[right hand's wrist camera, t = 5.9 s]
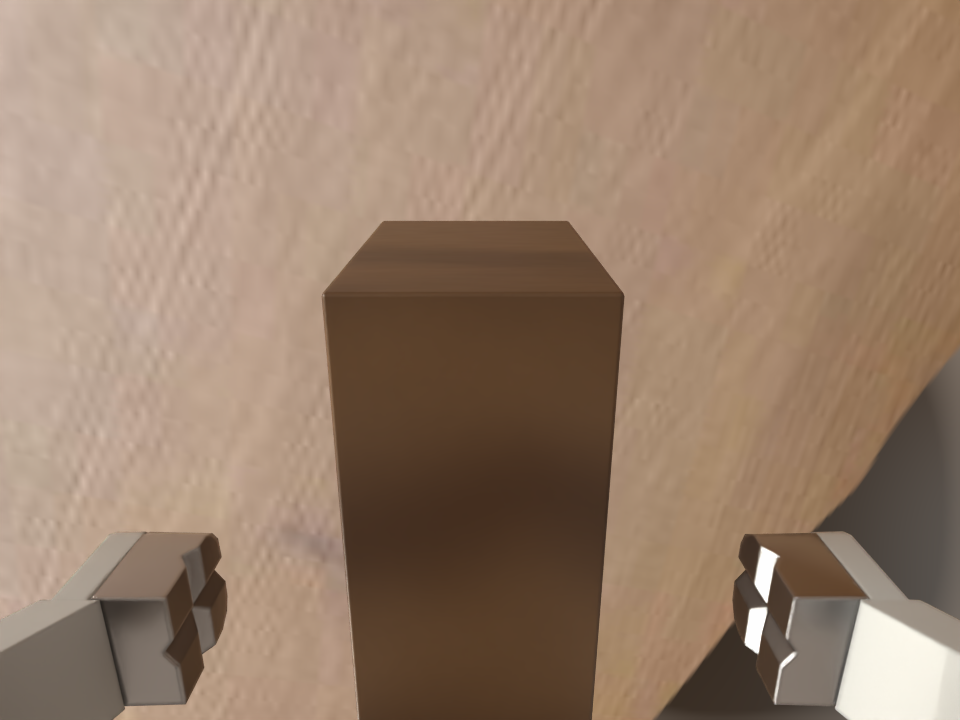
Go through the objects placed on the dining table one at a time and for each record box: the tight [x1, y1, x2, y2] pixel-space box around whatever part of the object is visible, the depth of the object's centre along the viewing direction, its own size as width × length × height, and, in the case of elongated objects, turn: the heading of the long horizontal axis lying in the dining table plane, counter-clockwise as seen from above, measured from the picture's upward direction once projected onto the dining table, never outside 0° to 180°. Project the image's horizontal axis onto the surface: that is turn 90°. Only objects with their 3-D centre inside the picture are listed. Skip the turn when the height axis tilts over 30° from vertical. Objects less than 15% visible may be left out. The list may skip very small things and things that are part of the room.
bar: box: [322, 221, 624, 720], centre depth 20 cm, size 23×5×8 cm, turn 0°
